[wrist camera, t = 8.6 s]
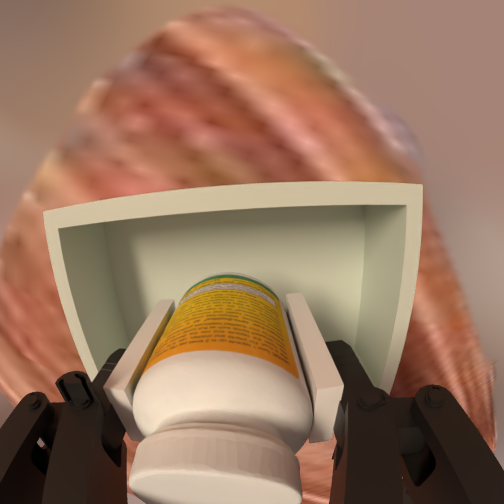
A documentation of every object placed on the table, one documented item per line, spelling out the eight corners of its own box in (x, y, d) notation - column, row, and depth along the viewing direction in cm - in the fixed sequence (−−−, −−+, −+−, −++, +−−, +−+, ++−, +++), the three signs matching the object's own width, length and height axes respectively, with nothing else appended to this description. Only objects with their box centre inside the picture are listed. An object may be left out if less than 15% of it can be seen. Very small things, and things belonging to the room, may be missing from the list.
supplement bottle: (300, 340, 14) (351, 508, 4) (209, 372, 14) (187, 531, 5) (258, 249, 12) (290, 427, 3) (158, 293, 13) (57, 451, 3)
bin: (360, 348, 20) (389, 395, 14) (130, 359, 20) (103, 406, 14) (371, 181, 17) (422, 184, 11) (96, 200, 17) (43, 211, 11)
